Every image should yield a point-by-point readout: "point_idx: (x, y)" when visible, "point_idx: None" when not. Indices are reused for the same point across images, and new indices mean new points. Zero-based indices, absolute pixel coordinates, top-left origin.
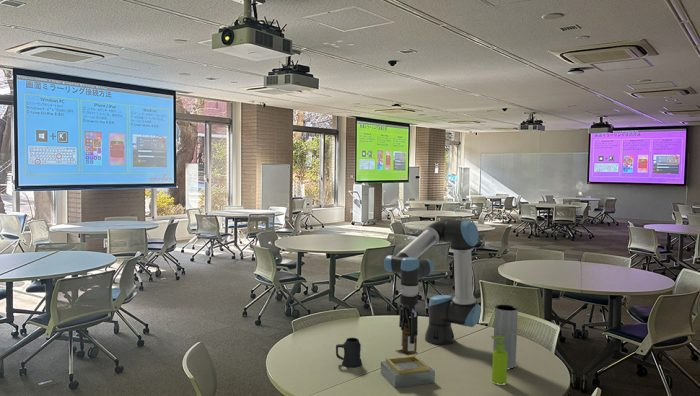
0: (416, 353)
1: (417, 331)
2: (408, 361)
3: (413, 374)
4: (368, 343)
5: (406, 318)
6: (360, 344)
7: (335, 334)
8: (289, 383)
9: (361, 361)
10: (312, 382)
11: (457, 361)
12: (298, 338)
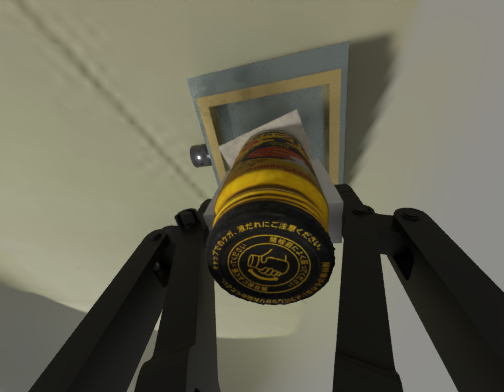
0: (299, 134)
1: (447, 235)
2: (227, 133)
3: (344, 146)
4: (27, 183)
5: (206, 338)
6: (154, 268)
7: (4, 240)
8: (269, 329)
9: (176, 231)
10: (269, 308)
11: None
12: (64, 295)
